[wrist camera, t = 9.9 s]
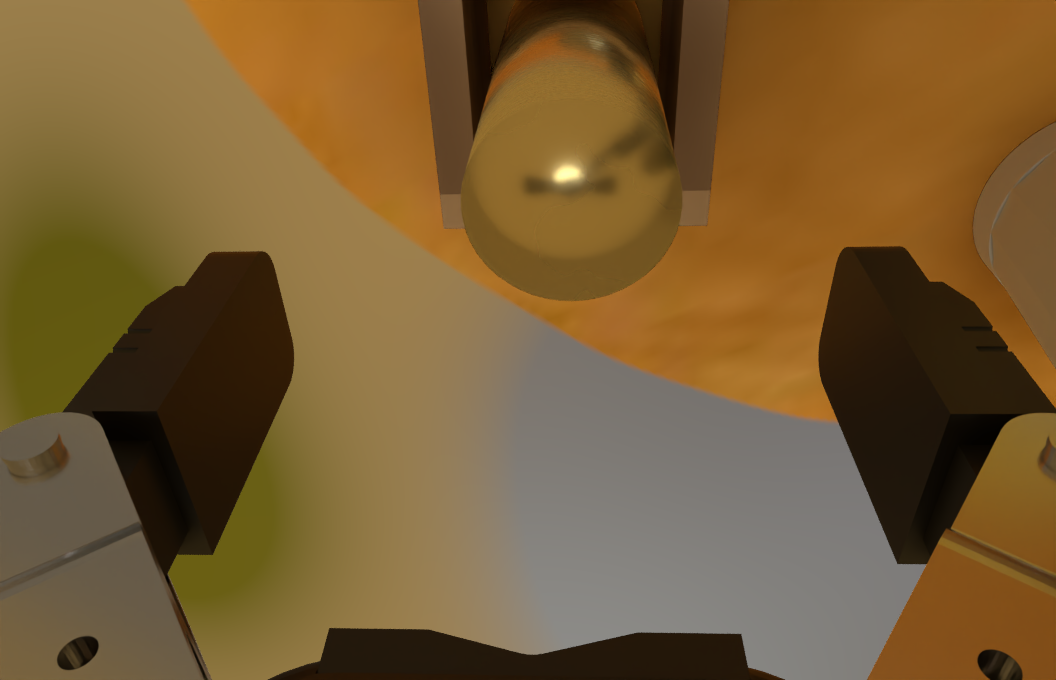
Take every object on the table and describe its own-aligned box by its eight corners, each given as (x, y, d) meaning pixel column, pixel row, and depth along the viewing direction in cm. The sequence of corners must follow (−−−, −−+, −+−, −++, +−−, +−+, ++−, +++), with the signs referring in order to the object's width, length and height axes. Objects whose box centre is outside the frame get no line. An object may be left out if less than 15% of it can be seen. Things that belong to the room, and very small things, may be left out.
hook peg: (646, -37, 22) (690, 95, 13) (640, 105, 25) (675, 300, 16) (501, -32, 22) (450, 101, 14) (509, 108, 25) (470, 301, 16)
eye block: (706, -101, 21) (735, -69, 17) (686, 151, 25) (706, 225, 21) (443, -91, 22) (411, -58, 18) (465, 155, 26) (443, 228, 22)
